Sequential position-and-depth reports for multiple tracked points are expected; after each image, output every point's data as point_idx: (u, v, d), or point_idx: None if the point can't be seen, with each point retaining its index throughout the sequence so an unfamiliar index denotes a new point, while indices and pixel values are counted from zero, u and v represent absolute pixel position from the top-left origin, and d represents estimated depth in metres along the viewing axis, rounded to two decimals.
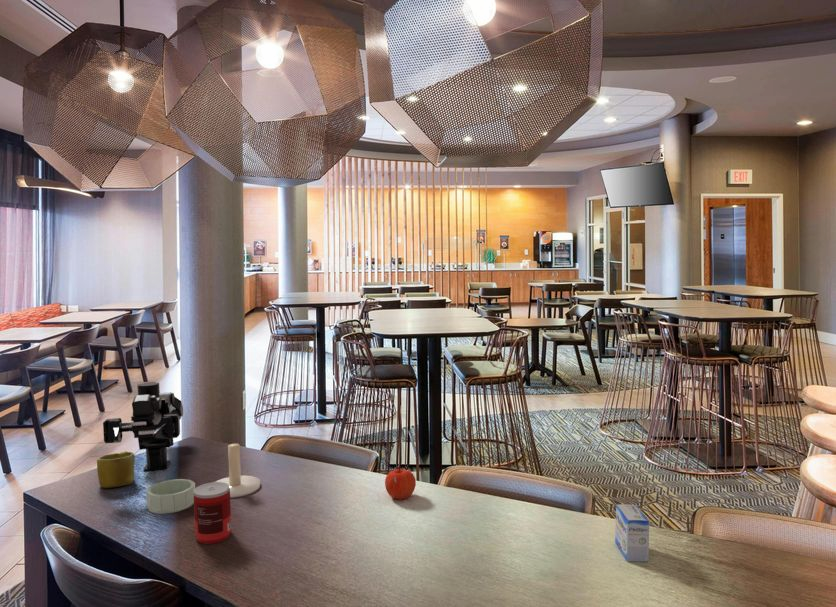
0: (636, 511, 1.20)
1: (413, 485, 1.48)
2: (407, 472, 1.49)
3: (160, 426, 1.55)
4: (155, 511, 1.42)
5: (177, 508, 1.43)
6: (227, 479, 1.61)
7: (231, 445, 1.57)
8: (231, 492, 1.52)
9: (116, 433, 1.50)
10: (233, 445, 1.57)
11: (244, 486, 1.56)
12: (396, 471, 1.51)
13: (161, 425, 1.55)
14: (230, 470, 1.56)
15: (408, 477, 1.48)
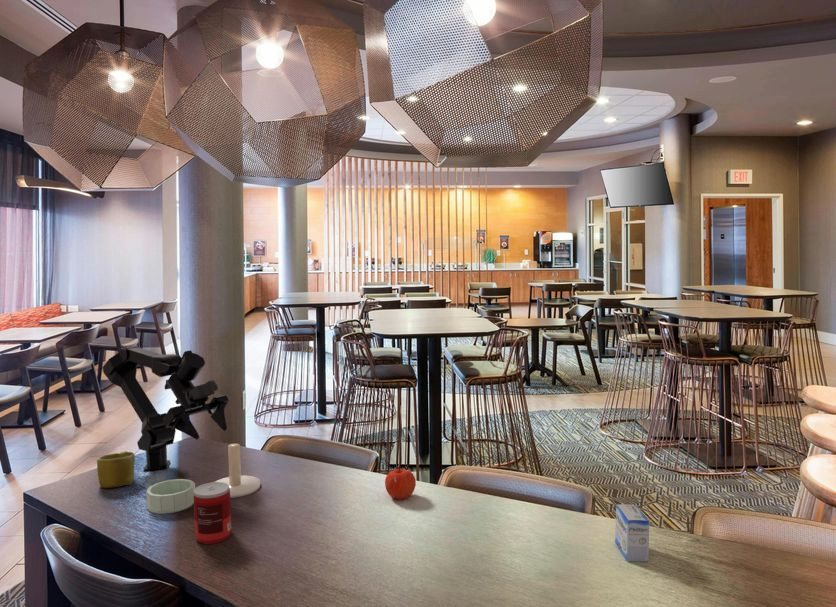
0: (636, 511, 1.20)
1: (413, 485, 1.48)
2: (407, 472, 1.49)
3: (222, 415, 1.66)
4: (155, 511, 1.42)
5: (177, 508, 1.43)
6: (227, 479, 1.61)
7: (231, 445, 1.57)
8: (231, 492, 1.52)
9: (195, 431, 1.57)
10: (233, 445, 1.57)
11: (244, 486, 1.56)
12: (396, 471, 1.51)
13: (222, 413, 1.66)
14: (230, 470, 1.56)
15: (408, 477, 1.48)
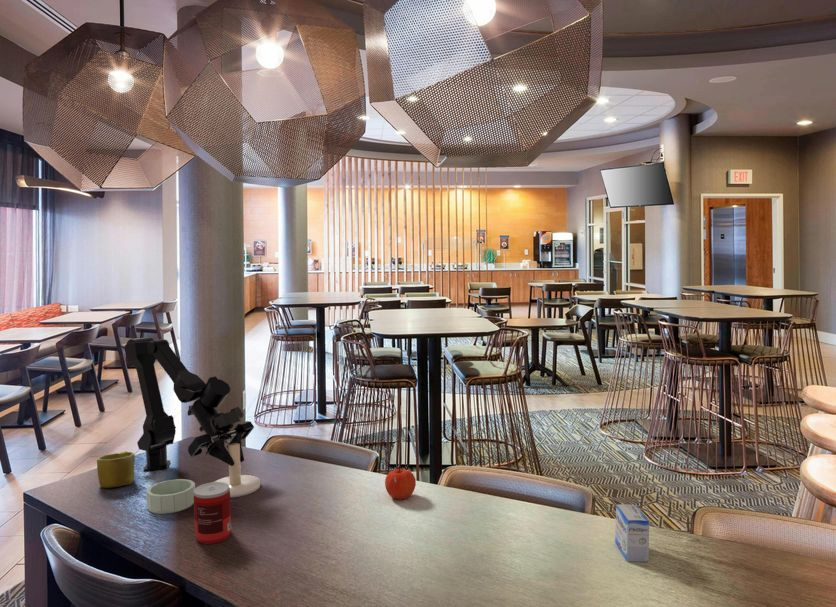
0: (636, 511, 1.20)
1: (413, 485, 1.48)
2: (407, 472, 1.49)
3: None
4: (155, 511, 1.42)
5: (177, 508, 1.43)
6: (227, 479, 1.61)
7: (231, 444, 1.57)
8: (232, 491, 1.52)
9: (230, 458, 1.55)
10: (233, 444, 1.57)
11: (244, 486, 1.56)
12: (396, 471, 1.51)
13: None
14: (230, 469, 1.56)
15: (408, 477, 1.48)
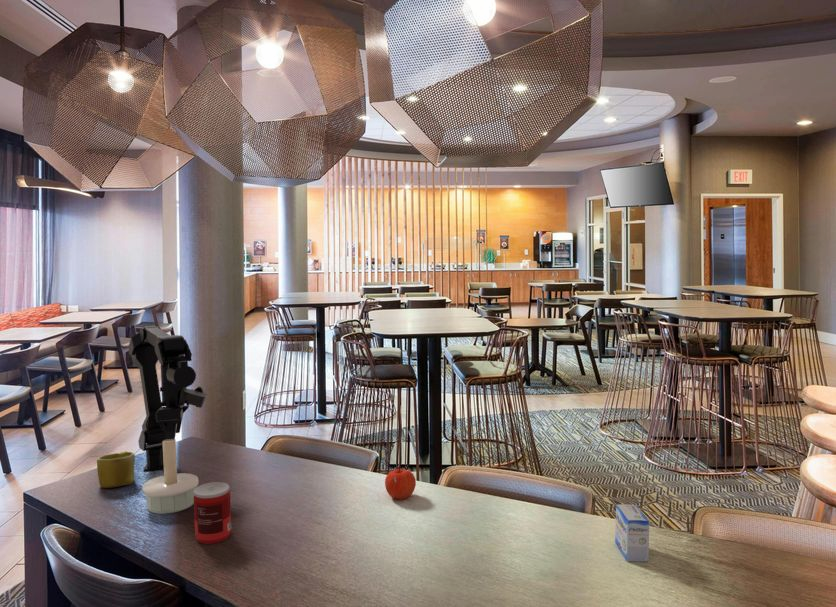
0: (636, 511, 1.20)
1: (413, 485, 1.48)
2: (407, 472, 1.49)
3: None
4: (155, 511, 1.42)
5: (177, 508, 1.43)
6: None
7: (167, 440, 1.47)
8: (153, 490, 1.42)
9: None
10: (168, 440, 1.46)
11: (173, 486, 1.44)
12: (396, 471, 1.51)
13: (182, 415, 1.66)
14: None
15: (408, 477, 1.48)
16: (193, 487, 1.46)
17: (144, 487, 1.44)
